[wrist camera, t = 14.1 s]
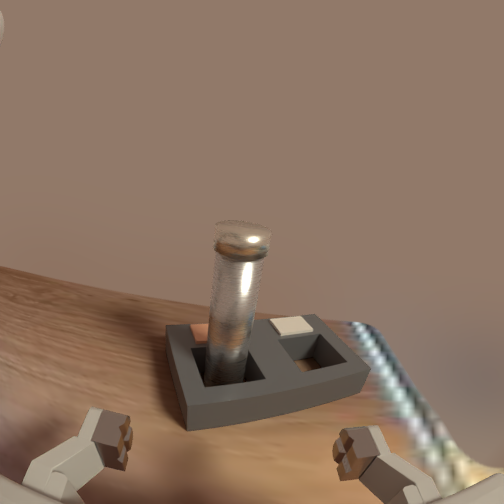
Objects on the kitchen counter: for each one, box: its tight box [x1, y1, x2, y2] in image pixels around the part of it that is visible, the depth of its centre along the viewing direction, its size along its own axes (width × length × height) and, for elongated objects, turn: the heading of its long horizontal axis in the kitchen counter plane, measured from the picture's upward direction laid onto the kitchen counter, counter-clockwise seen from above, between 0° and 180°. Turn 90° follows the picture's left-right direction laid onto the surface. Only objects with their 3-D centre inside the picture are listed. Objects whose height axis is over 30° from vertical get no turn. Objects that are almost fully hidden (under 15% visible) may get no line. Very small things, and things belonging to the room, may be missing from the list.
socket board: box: [166, 314, 371, 431], centre depth 26 cm, size 16×10×3 cm, turn 111°
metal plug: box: [204, 221, 271, 387], centre depth 22 cm, size 4×4×14 cm
